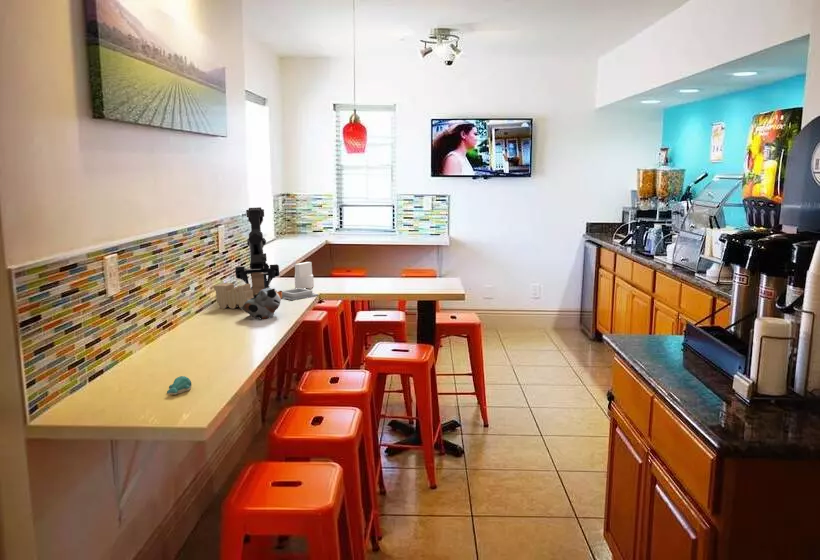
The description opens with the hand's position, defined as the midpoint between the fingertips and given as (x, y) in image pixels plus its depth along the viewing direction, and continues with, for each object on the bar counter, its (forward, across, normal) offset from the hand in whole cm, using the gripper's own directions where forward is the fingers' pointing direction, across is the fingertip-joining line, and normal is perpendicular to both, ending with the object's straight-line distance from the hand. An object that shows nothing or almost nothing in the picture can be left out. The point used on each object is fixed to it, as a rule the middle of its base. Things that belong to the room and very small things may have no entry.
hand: (258, 287), depth 278 cm
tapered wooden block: (+4, 0, +6) cm, 7 cm away
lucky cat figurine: (+26, +2, -16) cm, 31 cm away
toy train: (+11, -9, -2) cm, 15 cm away
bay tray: (-1, +16, +10) cm, 19 cm away
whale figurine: (+86, -18, -75) cm, 115 cm away
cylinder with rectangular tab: (-15, +21, +25) cm, 36 cm away
